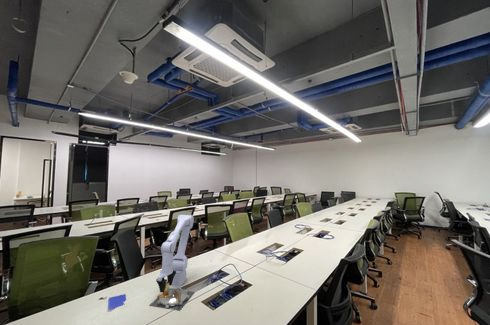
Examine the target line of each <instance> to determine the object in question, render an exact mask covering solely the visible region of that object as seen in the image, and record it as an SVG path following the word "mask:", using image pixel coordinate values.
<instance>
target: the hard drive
mask: <svg viewBox="0 0 490 325" xmlns="http://www.w3.org/2000/svg"><path fill="white" fill-rule="evenodd" d="M125 302H127V295H126V293H124V294H123V293H122V294H119V295H116V296H115V295H114V296H112V297H109V298H108V305H107V313H109V312H112V311H114V310H115V309H117V308H120V307H123V306H125Z"/></svg>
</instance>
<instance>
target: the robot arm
mask: <svg viewBox="0 0 490 325" xmlns="http://www.w3.org/2000/svg"><path fill="white" fill-rule="evenodd" d="M176 220H177V222H176V223H177V224H176V226H175V228H174V230H173V231H171V233H170V234H169V236H168V238H167V239H166V240H165V241H164V242H163V243H162V244H161V247H160V252H161V256H162V257H161V258H162V259H161V260H162V261H161V270H160V271H159V272H160V274H159V276H157V278H156V279H155V280H156V283H157V285H158V288H159V292H160V293H161V294H162V293H163V292H164V290H165V285H166V282H169V286H171V287H173V288H178V287H180V288H181V287H182V286H183V285H184V283H185V282H186V281H187V268H188V260H189V259H188V257H187V256H186V255H185V252H186V249H187V244H188V241H189V236H190V235H189V234H190V230H191V229H192V228H193V226H194V220H195V218H194V215H193V214H179V215H178V216H177V219H176ZM180 233H181V234H180ZM179 238H180V240H179ZM178 241H179V244H178V247H177V252H176V254H175V255H174V252H175V251H176V246H177V242H178ZM165 277H167V279H166V278H165Z"/></svg>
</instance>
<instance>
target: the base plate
mask: <svg viewBox="0 0 490 325" xmlns="http://www.w3.org/2000/svg"><path fill="white" fill-rule="evenodd" d="M170 289H171V288H170V287H169V290H170ZM188 291H189V293H187V295H190V298H189V299H186V300H185V301H184V302H183V303H182V305H180V306H179V305H175V306H169V308H166V306H164V305H162V304H159V305H158V304H157V301H159V298H157V297H156V299H154V301H152V302H151V303H150V304H149V305H148V307H153V308H158V309H159V308H161V309H164V310H165V309H166V310H172V311H178V312H181V311H182V309H183V308H184V307H185V306H186V304H188V302H189V301H190V299H191V298H192V297H193V296H194V295H195V293H196V291H191V290H188Z"/></svg>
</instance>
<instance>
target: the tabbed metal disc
mask: <svg viewBox="0 0 490 325" xmlns="http://www.w3.org/2000/svg"><path fill="white" fill-rule="evenodd" d="M189 291H190V290H189V289H183V288H181V286H180V287H176V288H170V290H169V294H168V295H167V296H163V293H162V292H161V294H159V293H158V294H157V297H156V299H157V298H159V301H157V304H158V305H159V304H162V305H164V306H166V308H169V306H175V305H179V306H180V305H182V303H183V302H184V301H185V300H186V299H189V298H190V295H187V293H189ZM190 299H191V298H190ZM190 299H189V300H190Z"/></svg>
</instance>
